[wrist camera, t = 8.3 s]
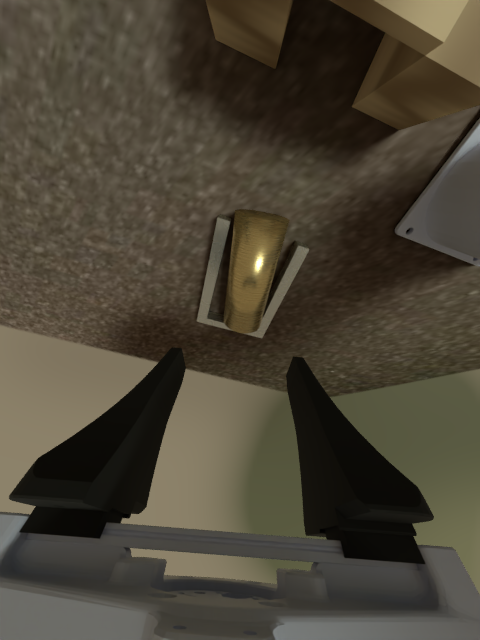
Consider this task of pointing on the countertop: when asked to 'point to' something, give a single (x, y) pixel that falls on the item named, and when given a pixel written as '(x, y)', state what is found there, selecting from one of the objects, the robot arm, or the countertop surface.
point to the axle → (252, 267)
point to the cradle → (276, 294)
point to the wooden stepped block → (381, 51)
